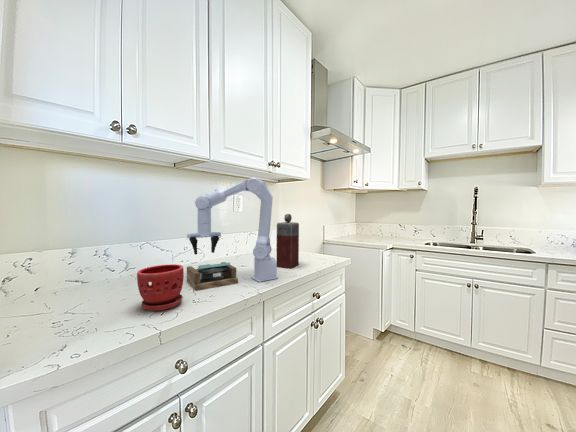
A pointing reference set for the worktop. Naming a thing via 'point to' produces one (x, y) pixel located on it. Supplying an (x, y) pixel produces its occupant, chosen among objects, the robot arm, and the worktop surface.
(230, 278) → the hatch stand
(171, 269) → the plant pot
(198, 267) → the granite block
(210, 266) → the hatch flap
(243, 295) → the worktop surface
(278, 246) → the red lidded canister
